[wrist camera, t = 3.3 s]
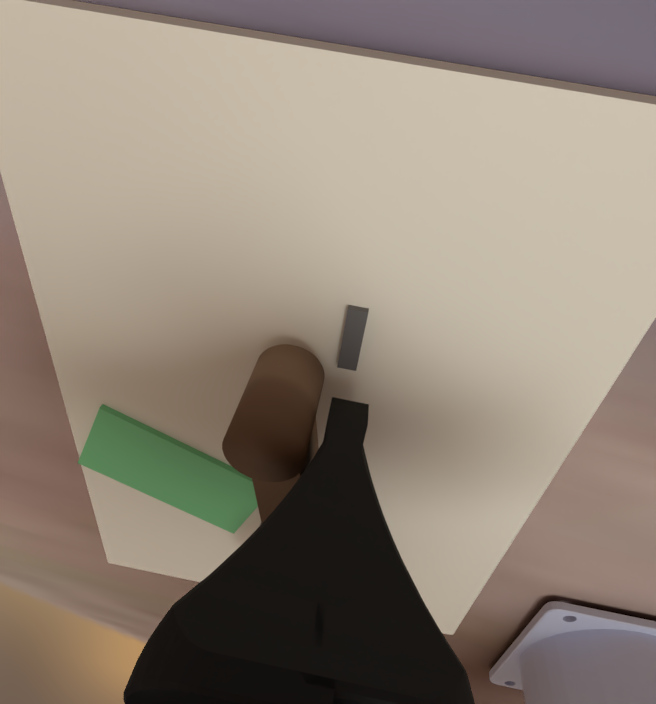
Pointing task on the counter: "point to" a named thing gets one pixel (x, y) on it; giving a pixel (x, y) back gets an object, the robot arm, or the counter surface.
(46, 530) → the counter surface
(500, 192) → the dial board
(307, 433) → the wooden crank handle
